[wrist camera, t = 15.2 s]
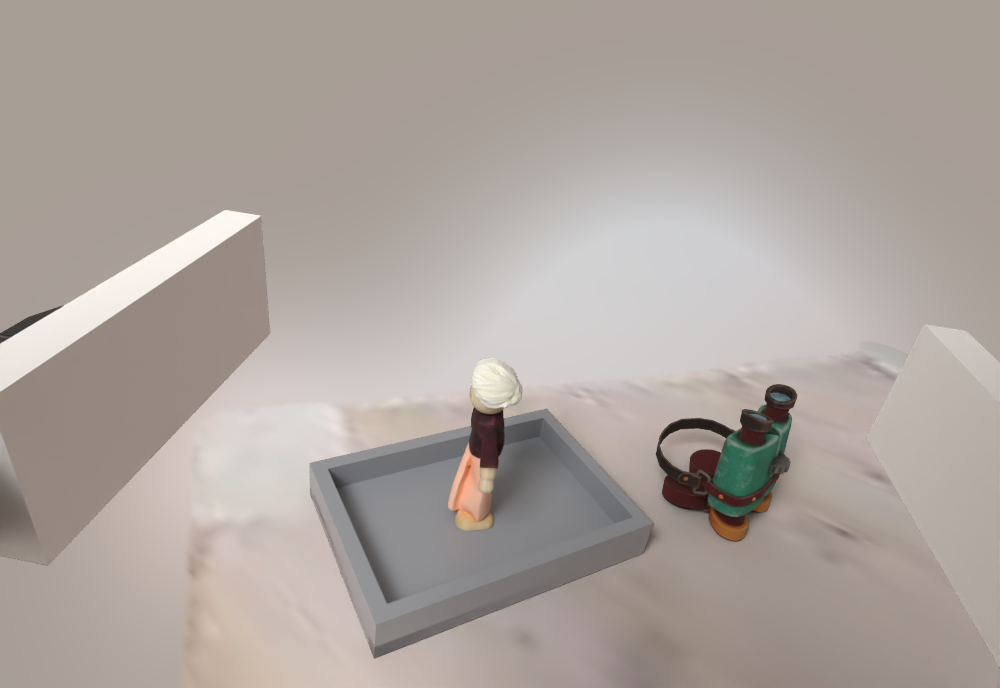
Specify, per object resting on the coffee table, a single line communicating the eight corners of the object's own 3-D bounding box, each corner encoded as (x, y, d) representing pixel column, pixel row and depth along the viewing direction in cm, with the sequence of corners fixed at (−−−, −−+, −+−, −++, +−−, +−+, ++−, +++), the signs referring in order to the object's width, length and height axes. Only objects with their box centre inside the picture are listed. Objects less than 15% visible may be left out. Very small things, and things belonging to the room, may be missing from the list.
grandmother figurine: (440, 477, 48) (455, 332, 42) (490, 475, 49) (512, 333, 43) (453, 558, 42) (474, 401, 35) (510, 554, 43) (540, 400, 36)
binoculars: (702, 347, 53) (826, 392, 47) (679, 451, 58) (790, 504, 52) (646, 382, 47) (780, 439, 41) (626, 495, 52) (744, 561, 46)
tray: (541, 436, 56) (546, 408, 54) (643, 553, 46) (653, 523, 44) (310, 494, 46) (309, 463, 45) (374, 658, 36) (375, 624, 35)
